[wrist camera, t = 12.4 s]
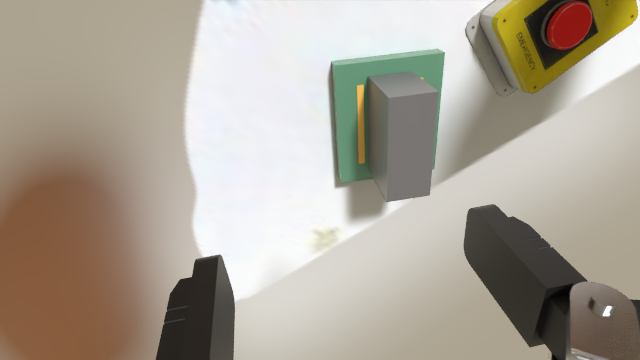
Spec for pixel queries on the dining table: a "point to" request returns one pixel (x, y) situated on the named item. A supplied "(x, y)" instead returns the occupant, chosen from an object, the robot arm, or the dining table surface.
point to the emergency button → (542, 37)
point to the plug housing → (401, 134)
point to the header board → (354, 102)
